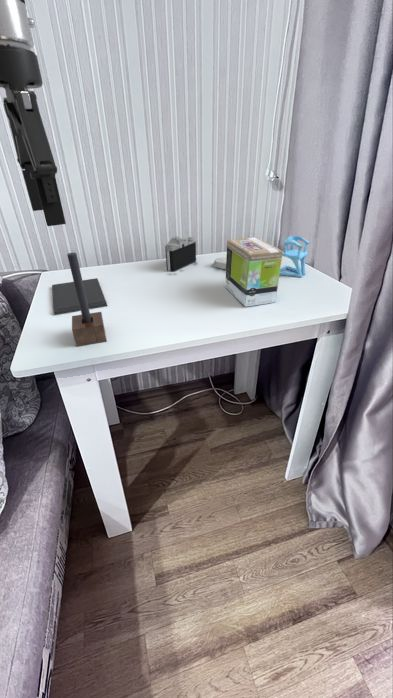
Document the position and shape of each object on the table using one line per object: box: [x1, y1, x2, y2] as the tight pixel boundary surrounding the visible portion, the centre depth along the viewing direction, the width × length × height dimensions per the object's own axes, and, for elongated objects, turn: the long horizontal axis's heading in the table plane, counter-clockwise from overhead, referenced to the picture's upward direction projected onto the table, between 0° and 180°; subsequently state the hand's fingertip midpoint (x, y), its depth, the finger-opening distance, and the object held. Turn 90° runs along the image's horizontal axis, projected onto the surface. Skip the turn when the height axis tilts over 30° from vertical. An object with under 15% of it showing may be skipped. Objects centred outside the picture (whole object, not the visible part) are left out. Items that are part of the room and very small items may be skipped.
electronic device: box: [213, 256, 227, 271], centre depth 110 cm, size 5×10×15 cm
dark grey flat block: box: [51, 277, 108, 316], centre depth 96 cm, size 20×14×1 cm
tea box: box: [224, 236, 284, 307], centre depth 91 cm, size 15×10×15 cm, turn 18°
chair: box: [279, 235, 310, 278], centre depth 105 cm, size 8×8×12 cm
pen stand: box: [71, 311, 108, 347], centre depth 76 cm, size 7×7×4 cm
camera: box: [164, 235, 197, 273], centre depth 114 cm, size 15×7×10 cm, turn 143°
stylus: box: [66, 252, 92, 323], centre depth 71 cm, size 2×2×20 cm
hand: (48, 216), depth 55 cm, fingers open, 13 cm apart
